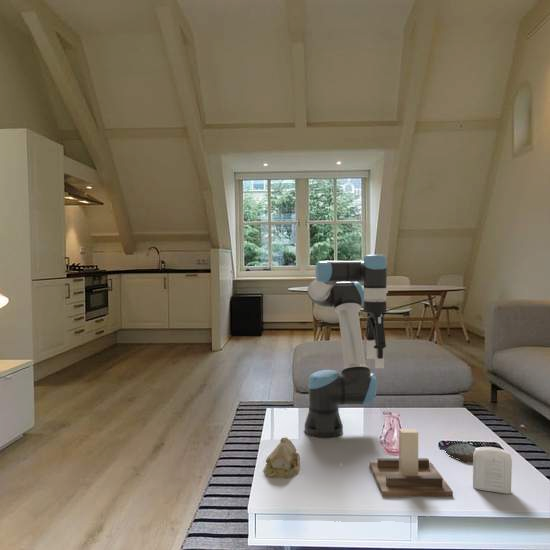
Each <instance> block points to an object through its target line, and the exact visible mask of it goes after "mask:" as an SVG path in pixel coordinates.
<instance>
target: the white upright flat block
mask: <svg viewBox="0 0 550 550" xmlns="http://www.w3.org/2000/svg"><path fill="white" fill-rule="evenodd" d="M511 455H512V454H511V453H510V452H509V451H507V450H505V449H502V448H500V447H493V446H480V447H476V448H475V451H474V454H473V462H472V464H473V465H472V487H473V488H474V489H475V490H480V491H485V492H487V491H488V492H493V493H499V494H507V495H508V494H511V493H512V473H513V472H512V469H513V467H512V466H513V458H512V456H511Z"/></svg>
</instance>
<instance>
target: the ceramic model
mask: <svg viewBox="0 0 550 550" xmlns="http://www.w3.org/2000/svg"><path fill="white" fill-rule="evenodd" d="M300 460H301V459H300V454H299V453H298V452H297V449H296V446H295V445H294V443H293V442H292V440H290V439H288V437H282V438H281V439H280V442H279V443H278V444H277V445H276V447H275V448H274V449H273V451H272V452H271V453H270V454H269V455H268V456H267V457H266V458H265V462H266V464H265V467H264V468H263V472H264V474H265V475H266V476H267V477H269V478H282V479H289V478H292V477H295V476H296V475H298V474H299V471H300V469H301V468H300V466H301V461H300Z"/></svg>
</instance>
